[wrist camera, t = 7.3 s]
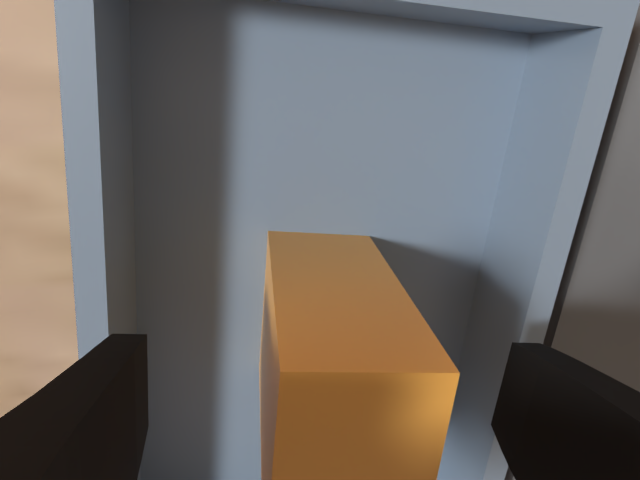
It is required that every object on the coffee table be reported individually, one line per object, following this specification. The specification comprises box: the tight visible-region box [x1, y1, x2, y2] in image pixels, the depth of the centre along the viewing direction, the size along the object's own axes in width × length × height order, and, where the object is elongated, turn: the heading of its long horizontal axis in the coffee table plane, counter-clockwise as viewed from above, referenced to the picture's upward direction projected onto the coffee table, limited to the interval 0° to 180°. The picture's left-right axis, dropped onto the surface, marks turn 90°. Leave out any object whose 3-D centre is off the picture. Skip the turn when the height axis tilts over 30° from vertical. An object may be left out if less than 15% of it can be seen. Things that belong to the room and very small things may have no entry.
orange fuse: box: [259, 231, 460, 480], centre depth 10 cm, size 4×3×6 cm, turn 175°
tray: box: [54, 0, 640, 480], centre depth 12 cm, size 15×10×3 cm
